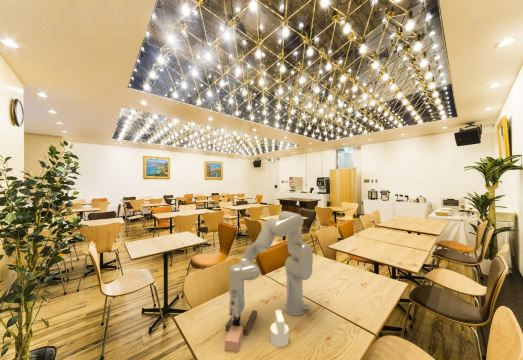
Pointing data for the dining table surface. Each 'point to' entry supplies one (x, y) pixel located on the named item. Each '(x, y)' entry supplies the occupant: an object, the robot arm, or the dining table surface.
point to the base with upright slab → (279, 331)
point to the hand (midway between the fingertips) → (236, 325)
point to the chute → (247, 325)
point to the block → (234, 339)
